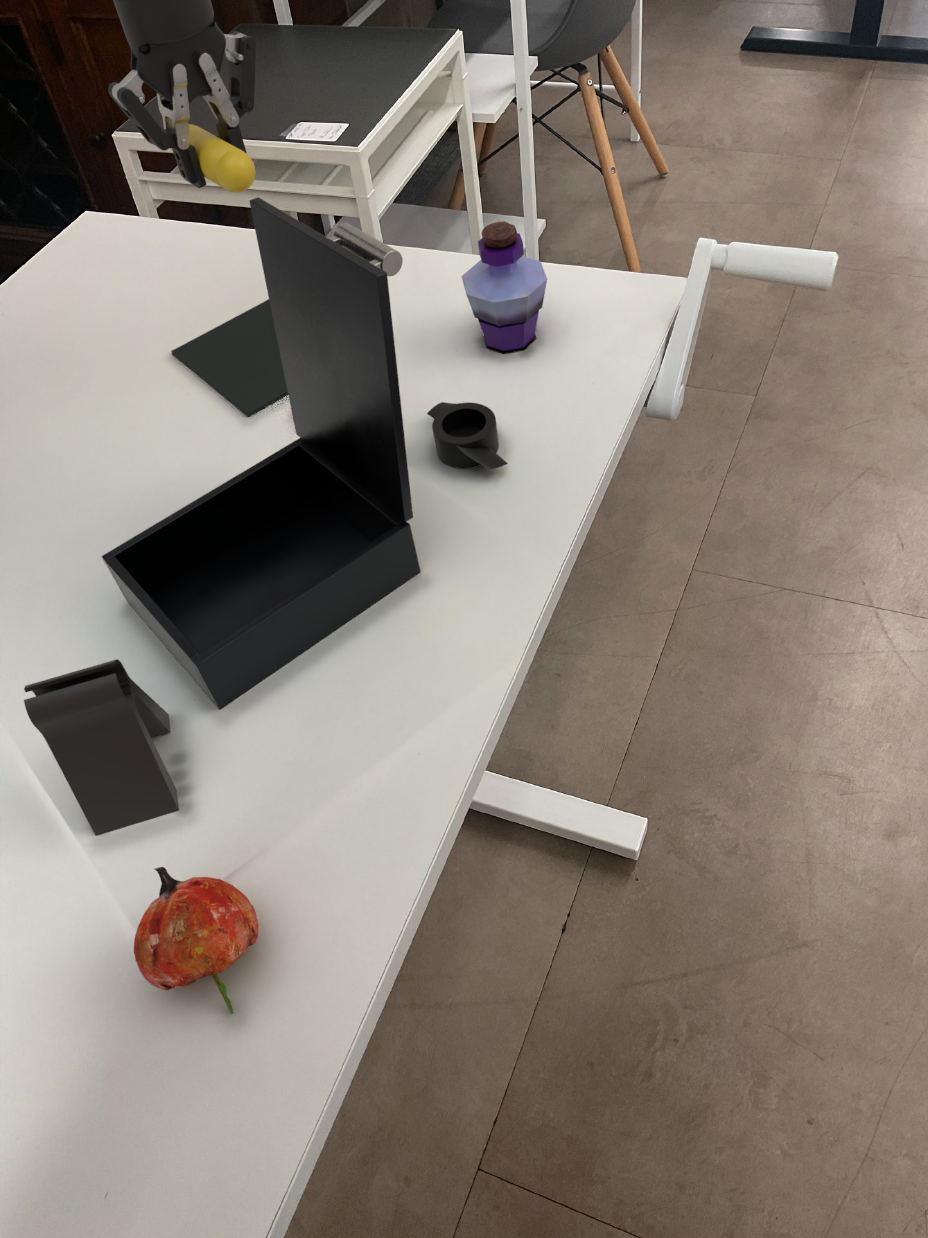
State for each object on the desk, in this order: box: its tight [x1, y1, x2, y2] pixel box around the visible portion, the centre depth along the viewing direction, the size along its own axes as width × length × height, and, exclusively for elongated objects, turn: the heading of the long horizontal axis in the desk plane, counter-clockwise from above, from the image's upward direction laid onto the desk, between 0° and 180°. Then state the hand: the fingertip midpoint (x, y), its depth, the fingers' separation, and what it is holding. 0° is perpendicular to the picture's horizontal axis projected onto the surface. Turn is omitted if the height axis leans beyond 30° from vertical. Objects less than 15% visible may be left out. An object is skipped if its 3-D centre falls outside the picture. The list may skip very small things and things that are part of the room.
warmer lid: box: [249, 197, 414, 522], centre depth 76 cm, size 20×16×5 cm
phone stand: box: [23, 658, 180, 837], centre depth 70 cm, size 9×6×12 cm, turn 15°
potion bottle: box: [460, 221, 548, 355], centre depth 99 cm, size 9×9×12 cm
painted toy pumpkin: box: [133, 866, 259, 1015], centre depth 62 cm, size 7×7×10 cm
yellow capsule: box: [171, 123, 256, 194], centre depth 92 cm, size 4×12×4 cm, turn 40°
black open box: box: [101, 437, 422, 711], centre depth 82 cm, size 20×16×6 cm
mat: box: [170, 298, 289, 418], centre depth 107 cm, size 16×16×1 cm
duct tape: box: [426, 401, 509, 471], centre depth 92 cm, size 8×10×3 cm
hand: (217, 174), depth 93 cm, fingers closed on yellow capsule, 3 cm apart
